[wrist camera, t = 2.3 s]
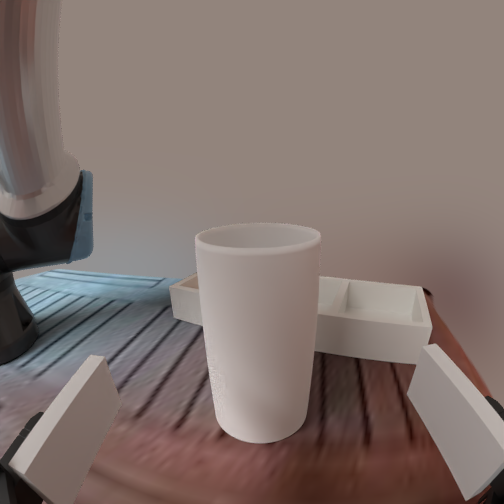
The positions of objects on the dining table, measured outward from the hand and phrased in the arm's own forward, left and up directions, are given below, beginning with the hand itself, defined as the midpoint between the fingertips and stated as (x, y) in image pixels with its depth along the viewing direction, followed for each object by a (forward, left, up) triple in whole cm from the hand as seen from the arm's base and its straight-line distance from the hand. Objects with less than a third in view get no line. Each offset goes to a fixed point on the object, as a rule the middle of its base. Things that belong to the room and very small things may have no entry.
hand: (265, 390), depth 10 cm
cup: (-4, +9, -12) cm, 16 cm away
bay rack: (-6, +26, -12) cm, 29 cm away
